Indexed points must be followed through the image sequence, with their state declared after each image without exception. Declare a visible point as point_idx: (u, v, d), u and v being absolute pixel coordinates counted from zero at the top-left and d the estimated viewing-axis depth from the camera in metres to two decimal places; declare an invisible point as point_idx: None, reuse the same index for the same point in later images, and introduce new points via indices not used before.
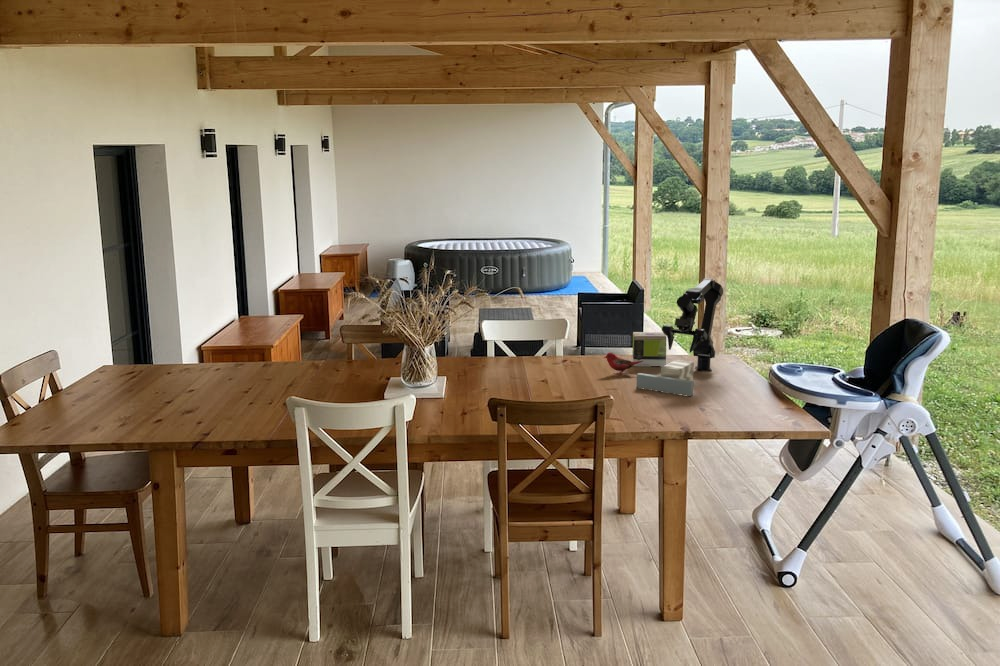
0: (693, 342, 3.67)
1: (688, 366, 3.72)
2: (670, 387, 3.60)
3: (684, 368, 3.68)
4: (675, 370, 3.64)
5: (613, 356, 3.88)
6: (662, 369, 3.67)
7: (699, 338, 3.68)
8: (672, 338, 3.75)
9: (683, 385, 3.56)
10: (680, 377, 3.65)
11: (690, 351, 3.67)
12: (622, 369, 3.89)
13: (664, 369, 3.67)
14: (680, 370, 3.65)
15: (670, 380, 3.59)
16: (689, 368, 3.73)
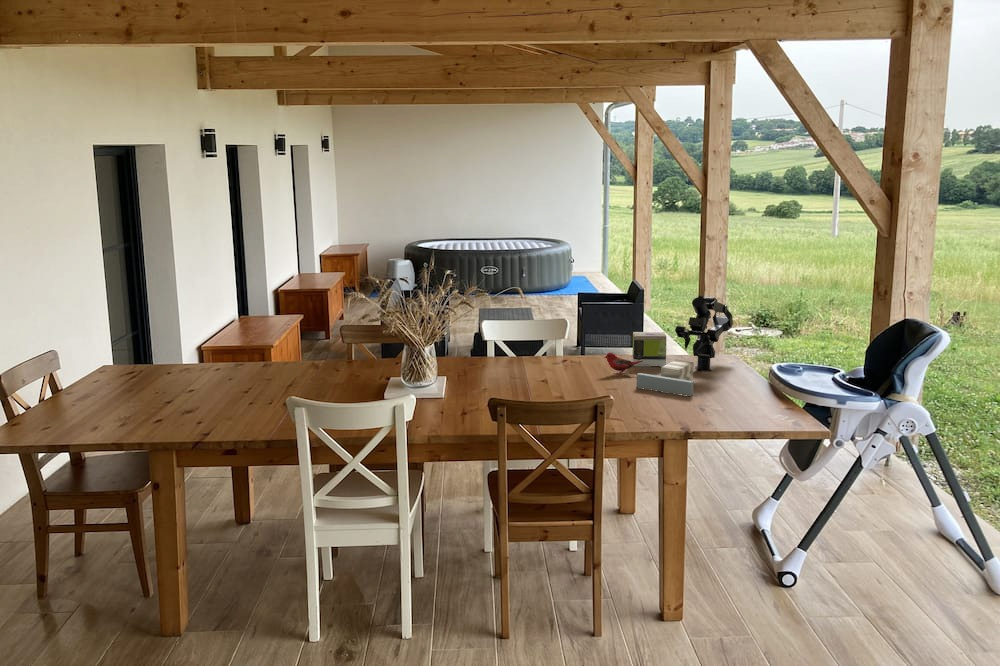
0: (700, 341, 3.82)
1: (688, 366, 3.72)
2: (670, 387, 3.60)
3: (684, 368, 3.68)
4: (675, 370, 3.64)
5: (613, 356, 3.88)
6: (662, 369, 3.67)
7: (706, 338, 3.82)
8: (689, 339, 3.87)
9: (683, 385, 3.56)
10: (680, 377, 3.65)
11: (697, 349, 3.81)
12: (622, 369, 3.89)
13: (664, 369, 3.67)
14: (680, 370, 3.65)
15: (670, 380, 3.59)
16: (689, 368, 3.73)
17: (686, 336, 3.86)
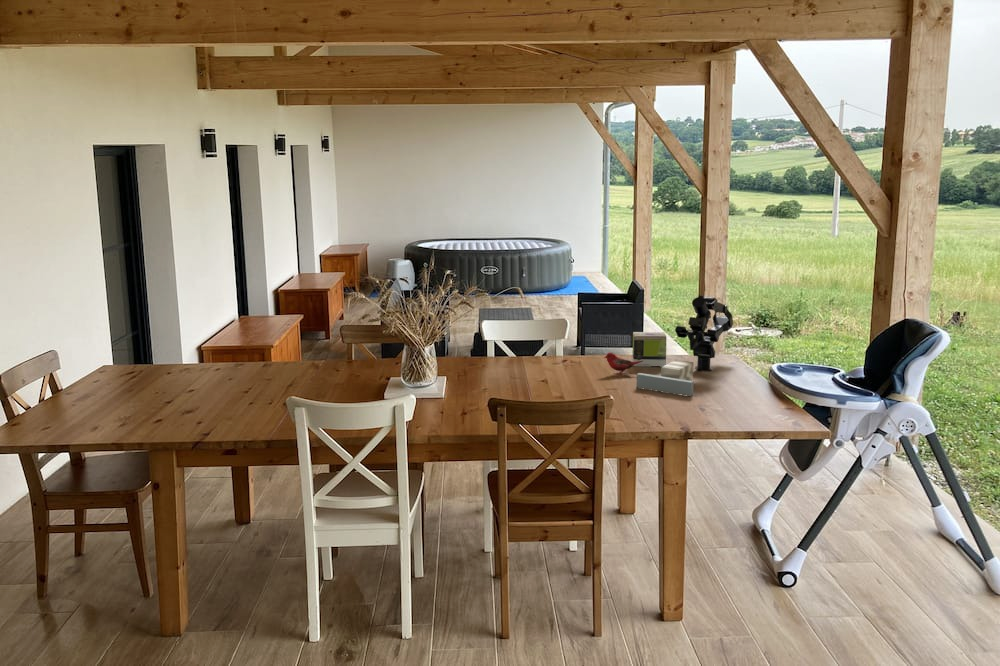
0: (695, 340, 3.83)
1: (688, 366, 3.72)
2: (670, 387, 3.60)
3: (684, 368, 3.68)
4: (675, 370, 3.64)
5: (613, 356, 3.88)
6: (662, 369, 3.67)
7: (701, 337, 3.84)
8: None
9: (683, 385, 3.56)
10: (680, 377, 3.65)
11: (691, 348, 3.82)
12: (622, 369, 3.89)
13: (664, 369, 3.67)
14: (680, 370, 3.65)
15: (670, 380, 3.59)
16: (689, 368, 3.73)
17: (691, 337, 3.84)
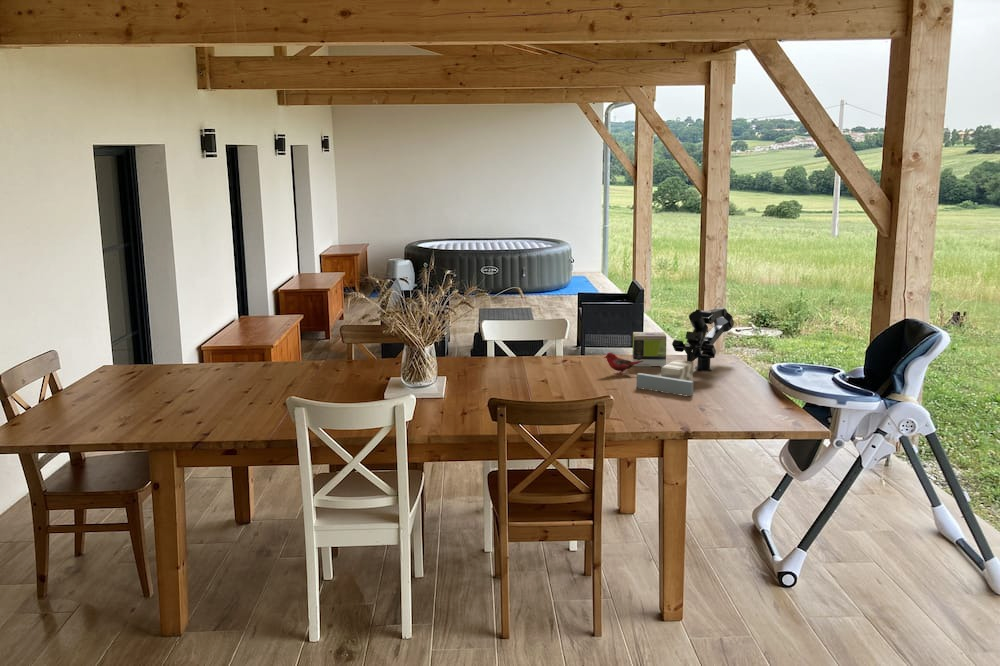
0: (692, 354, 3.82)
1: (688, 366, 3.72)
2: (670, 387, 3.60)
3: (684, 368, 3.68)
4: (675, 370, 3.64)
5: (613, 356, 3.88)
6: (662, 369, 3.67)
7: (698, 351, 3.83)
8: None
9: (683, 385, 3.56)
10: (680, 377, 3.65)
11: None
12: (622, 369, 3.89)
13: (664, 369, 3.67)
14: (680, 370, 3.65)
15: (670, 380, 3.59)
16: (689, 368, 3.73)
17: (688, 351, 3.84)
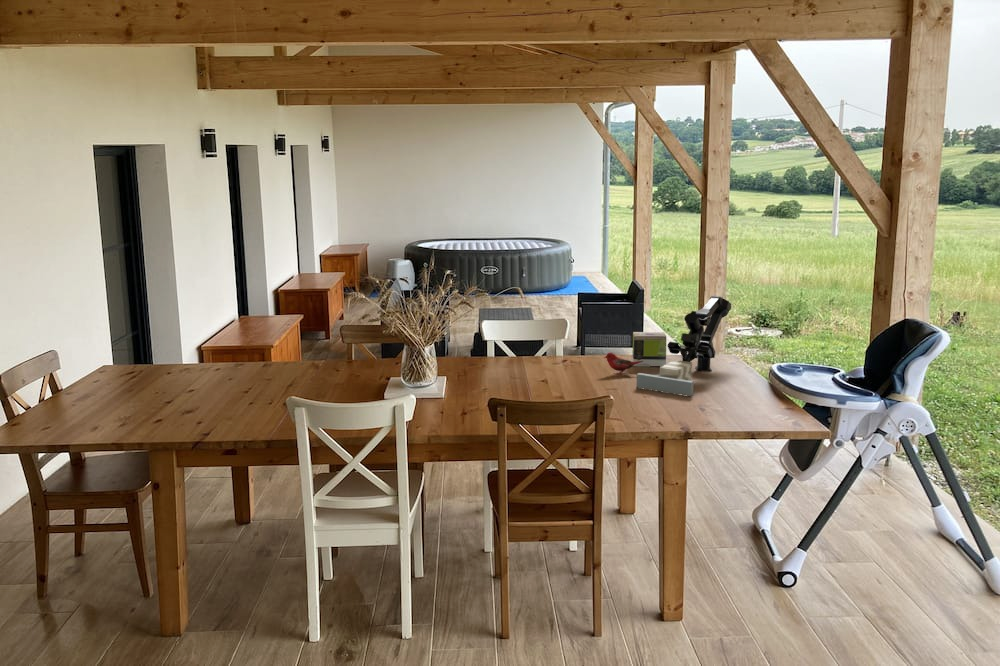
0: (688, 356, 3.78)
1: (687, 366, 3.70)
2: (670, 387, 3.60)
3: (683, 368, 3.67)
4: (674, 370, 3.63)
5: (613, 356, 3.88)
6: (661, 369, 3.66)
7: (694, 354, 3.79)
8: (686, 356, 3.81)
9: (683, 385, 3.56)
10: (679, 377, 3.64)
11: None
12: (622, 369, 3.89)
13: (663, 369, 3.66)
14: (679, 370, 3.63)
15: (670, 380, 3.59)
16: (687, 369, 3.72)
17: (684, 353, 3.79)
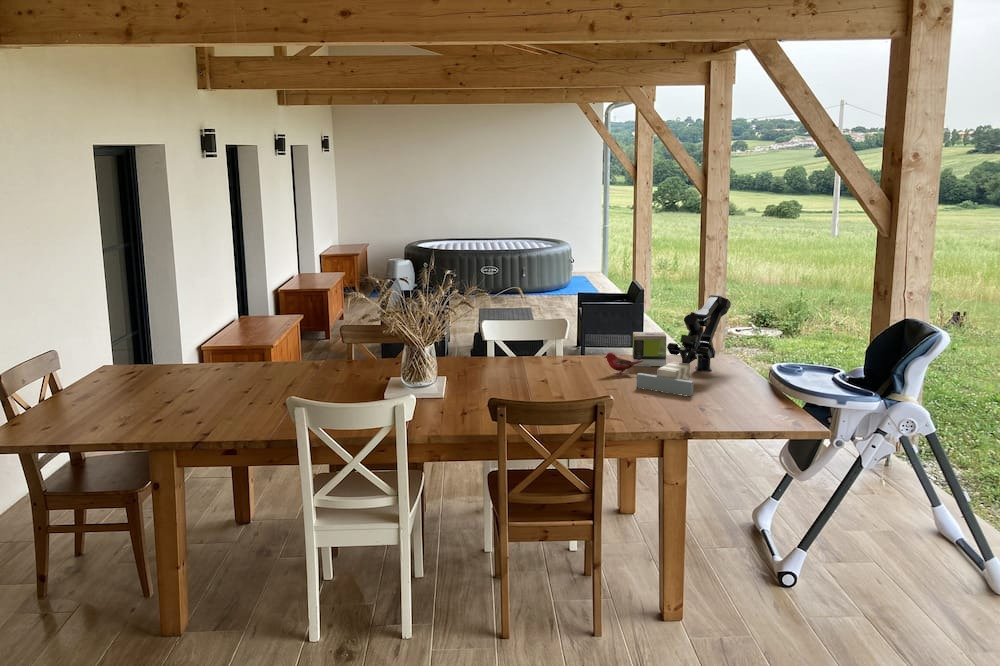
0: (687, 358, 3.78)
1: (684, 368, 3.68)
2: (670, 387, 3.60)
3: (680, 370, 3.65)
4: (671, 372, 3.61)
5: (613, 356, 3.88)
6: (658, 371, 3.64)
7: (693, 355, 3.78)
8: (686, 357, 3.81)
9: (683, 385, 3.56)
10: None
11: None
12: (622, 369, 3.89)
13: (660, 371, 3.64)
14: (676, 372, 3.61)
15: (670, 380, 3.59)
16: (685, 370, 3.70)
17: (683, 354, 3.79)
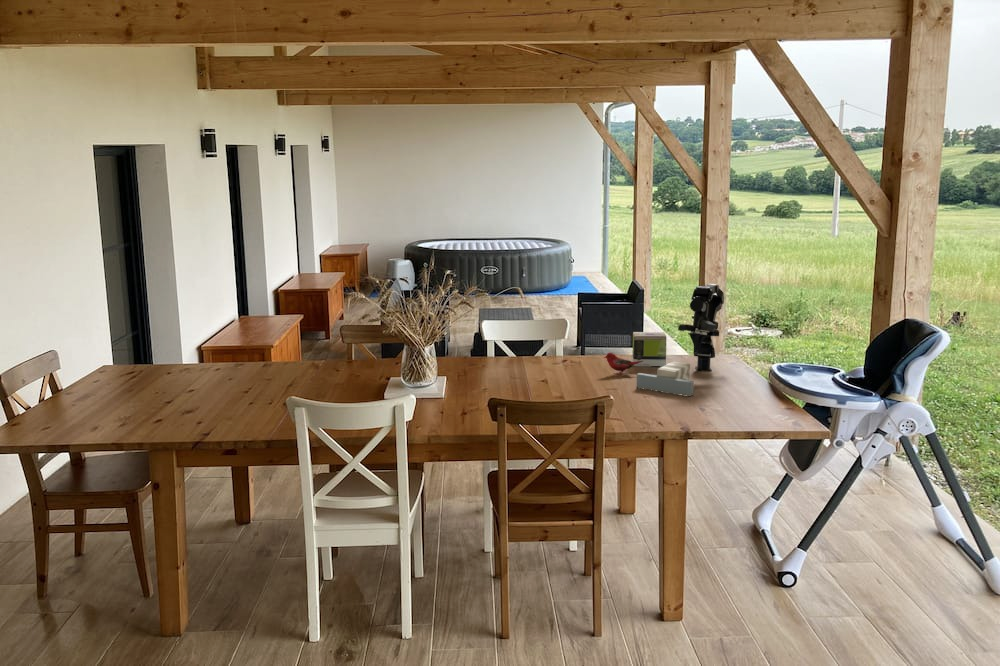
0: (701, 341, 3.82)
1: (684, 368, 3.68)
2: (670, 387, 3.60)
3: (680, 370, 3.65)
4: (671, 372, 3.61)
5: (613, 356, 3.88)
6: (658, 371, 3.64)
7: None
8: None
9: (683, 385, 3.56)
10: None
11: (698, 349, 3.82)
12: (622, 369, 3.89)
13: (660, 371, 3.64)
14: (676, 372, 3.61)
15: (670, 380, 3.59)
16: (685, 370, 3.70)
17: (698, 337, 3.81)
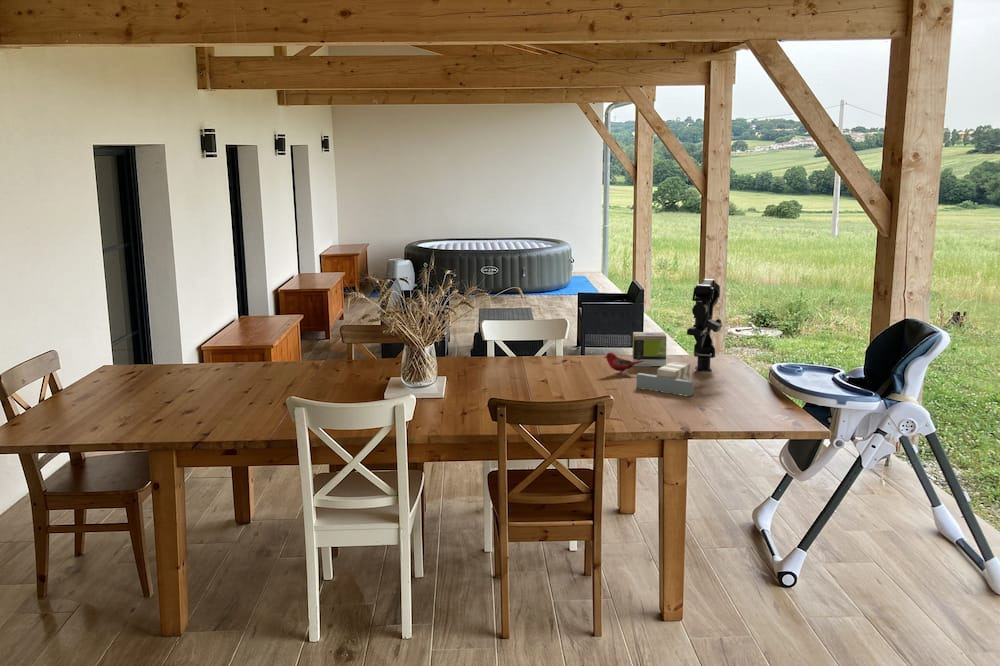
0: (704, 339, 3.83)
1: (684, 368, 3.68)
2: (670, 387, 3.60)
3: (680, 370, 3.65)
4: (671, 372, 3.61)
5: (613, 356, 3.88)
6: (658, 371, 3.64)
7: None
8: None
9: (683, 385, 3.56)
10: None
11: (701, 347, 3.84)
12: (622, 369, 3.89)
13: (660, 371, 3.64)
14: (676, 372, 3.61)
15: (670, 380, 3.59)
16: (685, 370, 3.70)
17: (703, 337, 3.81)
